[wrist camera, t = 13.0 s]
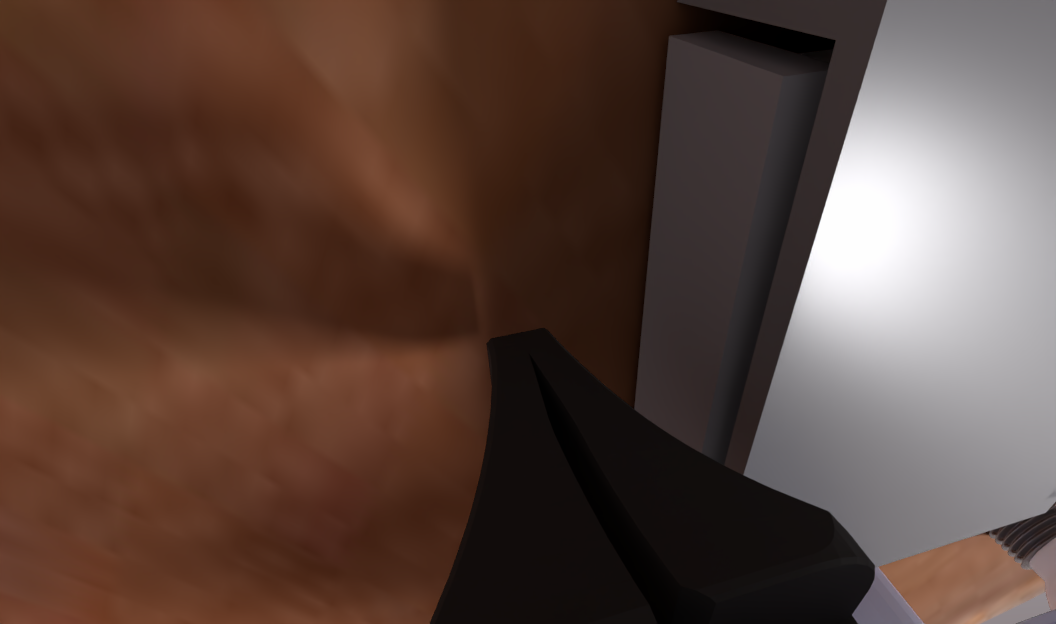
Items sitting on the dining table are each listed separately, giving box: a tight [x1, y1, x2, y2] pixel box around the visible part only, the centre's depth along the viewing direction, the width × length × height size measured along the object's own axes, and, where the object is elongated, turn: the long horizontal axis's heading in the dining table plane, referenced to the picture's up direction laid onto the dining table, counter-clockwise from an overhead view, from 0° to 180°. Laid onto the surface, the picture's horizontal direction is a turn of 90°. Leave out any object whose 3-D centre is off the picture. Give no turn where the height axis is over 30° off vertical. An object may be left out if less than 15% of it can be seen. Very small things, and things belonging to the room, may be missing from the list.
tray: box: [634, 30, 833, 465], centre depth 13 cm, size 11×13×3 cm
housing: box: [677, 0, 1056, 567], centre depth 13 cm, size 12×16×5 cm
